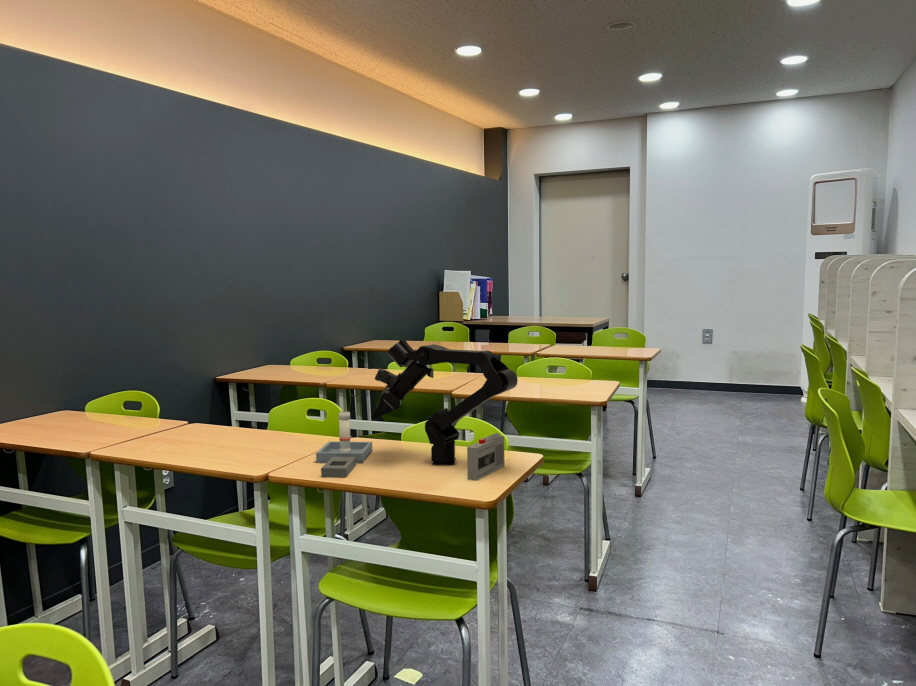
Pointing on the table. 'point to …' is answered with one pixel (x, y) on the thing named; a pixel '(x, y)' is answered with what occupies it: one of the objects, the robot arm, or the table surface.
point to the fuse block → (338, 467)
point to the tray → (332, 450)
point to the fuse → (344, 431)
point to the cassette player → (485, 457)
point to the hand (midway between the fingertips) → (373, 414)
